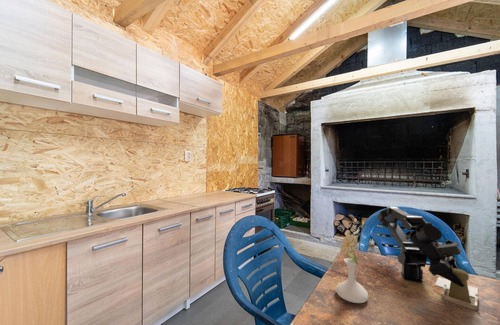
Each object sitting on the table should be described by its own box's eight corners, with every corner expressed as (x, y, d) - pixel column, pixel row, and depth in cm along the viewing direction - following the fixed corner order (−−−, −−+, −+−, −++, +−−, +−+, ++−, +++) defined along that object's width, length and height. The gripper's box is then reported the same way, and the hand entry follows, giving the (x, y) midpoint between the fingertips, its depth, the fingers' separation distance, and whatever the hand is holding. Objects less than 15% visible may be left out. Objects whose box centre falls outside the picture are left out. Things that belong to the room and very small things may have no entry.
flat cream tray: (477, 310, 73) (477, 305, 73) (441, 298, 80) (441, 294, 80) (477, 299, 79) (477, 294, 79) (444, 288, 86) (444, 284, 86)
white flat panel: (477, 298, 79) (477, 298, 79) (435, 285, 88) (435, 284, 88) (477, 289, 85) (477, 288, 85) (438, 277, 94) (438, 276, 94)
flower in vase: (334, 286, 89) (333, 226, 89) (364, 290, 85) (363, 228, 86) (338, 306, 76) (337, 237, 76) (374, 312, 73) (372, 239, 73)
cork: (473, 306, 75) (473, 275, 75) (450, 301, 78) (450, 271, 78) (467, 297, 80) (467, 268, 80) (446, 292, 83) (445, 264, 83)
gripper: (439, 240, 76) (486, 283, 68) (447, 229, 88) (487, 265, 80) (413, 255, 82) (453, 297, 73) (423, 243, 94) (458, 277, 86)
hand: (464, 283), depth 78 cm, fingers open, 6 cm apart
